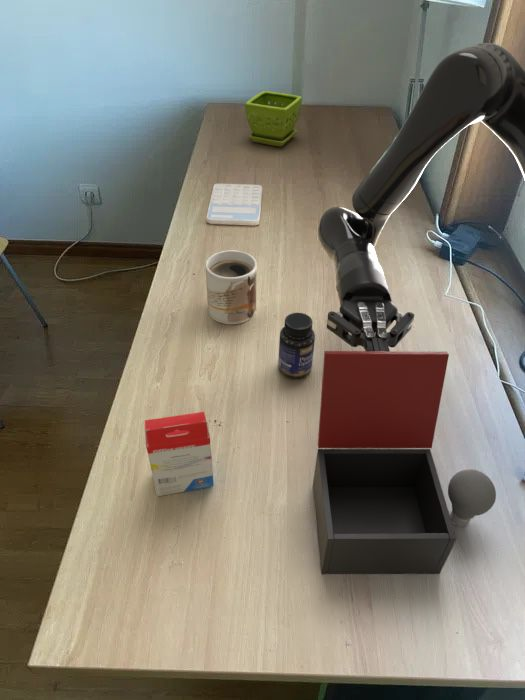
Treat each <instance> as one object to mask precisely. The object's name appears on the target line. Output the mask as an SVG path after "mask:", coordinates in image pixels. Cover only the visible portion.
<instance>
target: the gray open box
mask: <svg viewBox="0 0 525 700" xmlns="http://www.w3.org/2000/svg"><path fill="white" fill-rule="evenodd" d="M312 494H313V502H314V503H313V504H314V513H315V525H316V535H317V546H318V547H317V548H318V556H319V566H320V574H321V575H440V574H441V573H442V570H443V568H444V566H445V564H446V562H447V560H448V558H449V556H450V554H451V551H452V550H453V547H454V545H455V544H456V541H457V536H456V531H455V529H454V524H453V523H452V522H451V518H450V511H449V507H448V505H447V501H446V499H445V496H444V491H443V488H442V485H441V481H440V478H439V474H438V471H437V468H436V464H435V461H434V458H433V454H432V450H431V448H317V452H316V459H315V466H314V474H313V480H312Z"/></svg>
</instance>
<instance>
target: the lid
mask: <svg viewBox="0 0 525 700" xmlns="http://www.w3.org/2000/svg"><path fill="white" fill-rule="evenodd" d="M449 357H450V354H449V352H448V351H426V350H425V351H423V350H421V351H419V350H417V351H414V350H413V351H412V350H411V351H410V350H409V351H406V350H405V351H403V350H398V351H397V350H393V351H392V350H389V351H365V350H324V352H323V366H322V367H323V368H322V380H321V381H322V382H321V395H320V408H319V422H318V436H317V449H432V448H433V443H434V438H435V432H436V426H437V421H438V415H439V412H440V411H439V410H440V405H441V400H442V395H443V389H444V383H445V378H446V373H447V367H448V361H449Z"/></svg>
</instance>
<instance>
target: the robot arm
mask: <svg viewBox="0 0 525 700" xmlns="http://www.w3.org/2000/svg"><path fill="white" fill-rule="evenodd" d="M478 122H481V123H482V124H484V125H485V126H486V127H487V128H488V129H489V130H490V131H491V132H493V134H494V135H495V136H497V137H498V138H499V140H500V141H502V142H503V143H504V145H505V146H506V147H507V148H508V150H509V151H510V152H511V153H512V155H513V156H514V158H515V160H516V163H517V165H518V167H519V170H520V172H521V175H522V176H523V179H524V180H525V69H524V68H523V67H522V65H521V64H520V62H519V61H518V60H517V59H516V57H515V56H514V55H513V54H512V53H511V52H510V51H509V50H508V49H506V48H505V47H504V46H501V45H499V44H496V43H491V42H481V43H477V44H472V45H470V46H466V47H463V48H460V49H457V50H455V51H453V52H451V53H449V54H447V55H446V56H445V57H443V58H442V59H441V60H440V61H439V62H438V63H437V64H436V66H435V68H434V69H433V70H432V72H431V74H430V75H429V77H428V79H427V80H426V83H425V85H424V86H423V88H422V90H421V92H420V93H419V96H418V98H417V100H416V101H415V103H414V105H413V107H412V109H411V111H410V113H409V115H408V116H407V118H406V120H404V123H403V125H402V126H401V128H400V130H399V131H398V132H397V134H396V135H395V137H394V139H393V140H392V142H391V143H390V145H389V146H388V148H387V149H386V150H385V152H384V153H383V155H382V156H381V157H380V159H379V160H378V161H377V162H376V163H375V165H374V166H373V167H372V169H370V171H369V172H368V174H367V175H366V176H365V178H364V179H363V180H362V181H361V183H360V184H359V185H358V187H357V188H356V189H355V191H354V192H353V194H352V197H351V204H352V208H353V210H354V211H353V210H350V209H348V208H345V207H343V206H342V207H341V206H333V207H331V208H328V209H327V210H326V211H325V212H324V213H323V214H322V215H321V218H320V219H319V222H318V227H317V234H318V235H317V236H318V240H319V242H320V245H321V247H322V248H323V250H324V252H325V254H326V255H327V256H328V257H329V259H330V260H331V262H332V263H333V266H334V267H333V268H334V271H335V288H336V292H337V295H338V301H339V311H338V312H336V311H334V310H333V311H329V312H328V313H327V320H326V329H327V330H329V331H330V332H331V333H333V334H334V335H335V336H337V337H338V338H339V339H341V340H342V341H344V342H345V343H346V344H347V345H349V346H351V347H352V348H357V347H359V346H360V347H362V348H363V349H364V351H390V348H396V347H397V345H398V344H400V342H401V341H402V340H403V339H404V338H405V337H406V335H407V334H408V333H409V332H410V331H411V330H412V328H413V327H412V326H413V324H414V318H415V313H414V312H411V311H407V312H406V313H405V314H404V313H402V312H400V311H399V310H398V307H397V306H396V305H395V304H394V303H393V300H392V296H391V292H390V289H389V286H388V282H387V280H386V277H385V272H384V269H383V268H382V266H381V263H380V262H379V259H378V256H377V253H376V249H375V247H376V245H377V243H378V240H379V238H380V235H381V233H382V231H383V229H384V227H385V225H386V223H387V222H388V219H389V218H390V216H391V215H392V214H393V213H394V212H395V210H396V209H397V208H398V207H399V206H400V205H401V204H402V202H403V201H405V199H407V197H408V196H409V194H410V193H411V192H412V191H413V189H414V188H415V186H416V185H417V183H418V181H419V180H420V178H421V176H422V174H423V172H424V170H425V168H426V167H427V166H428V164H429V162H430V161H431V160H432V158H433V157H434V156H435V155H436V154H437V153H438V152H439V151H440V150H441V149H442V148H443V147H444V146H445V145H446V144H447V143H448V142H450V141H451V140H452V139H453V138H454V137H456V136H457V135H458V134H459V133H460V132H461V131H463V130H464V129H465V128H467V127H468V126H470V125H473V124H476V123H478ZM394 321H395V324H394V326H393V327H392V328H391V329H390V330H389V331H387V330H388V328H389V327H391V325H392V324H393V323H394Z"/></svg>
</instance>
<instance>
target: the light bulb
mask: <svg viewBox="0 0 525 700" xmlns="http://www.w3.org/2000/svg"><path fill="white" fill-rule="evenodd" d="M447 496H448V499H449V501H450V503H451V511H450V513H449V515H450V518H451V522H452V525H453V526H455V527H458V528H465V527H467V526H468V525H469V524H470V522H471V520H472V519H473V518H475V517H476V516H483V515H484V514H486V513H488V512H489V511H490V510H491V509H492V508H493V506H494V505H495V503H496V499H497V491H496V488H495V484H494V483H493V481H492V480H491V478H490V477H489V476H488V475H486V474H485V473H484V472H482V471H479V470H476V469H472V468H471V469H470V468H469V469H462V470H460V471H458V472H457V473H455V474H454V475H453V476H452V477H451V479H450V480H449V482H448V486H447Z"/></svg>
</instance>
